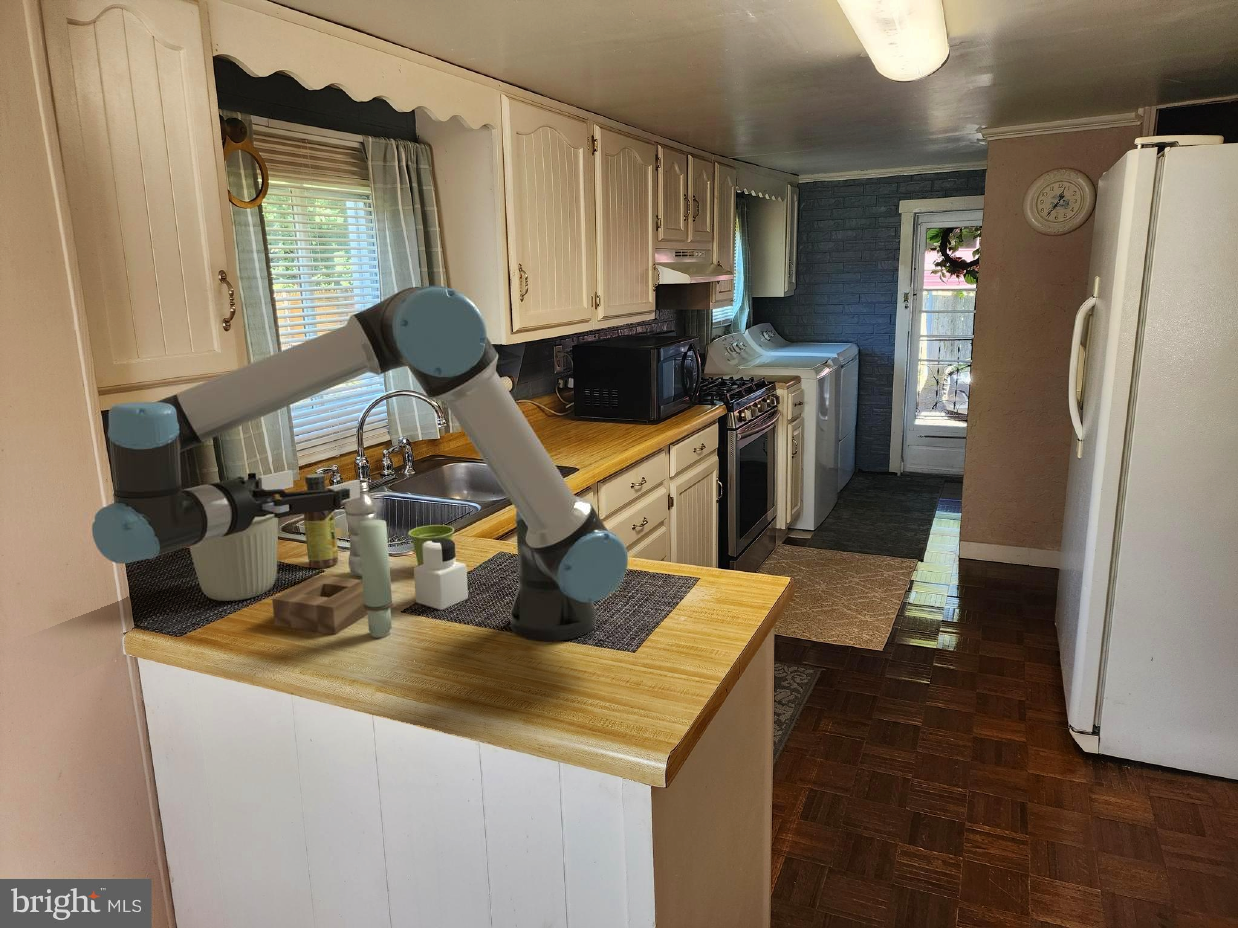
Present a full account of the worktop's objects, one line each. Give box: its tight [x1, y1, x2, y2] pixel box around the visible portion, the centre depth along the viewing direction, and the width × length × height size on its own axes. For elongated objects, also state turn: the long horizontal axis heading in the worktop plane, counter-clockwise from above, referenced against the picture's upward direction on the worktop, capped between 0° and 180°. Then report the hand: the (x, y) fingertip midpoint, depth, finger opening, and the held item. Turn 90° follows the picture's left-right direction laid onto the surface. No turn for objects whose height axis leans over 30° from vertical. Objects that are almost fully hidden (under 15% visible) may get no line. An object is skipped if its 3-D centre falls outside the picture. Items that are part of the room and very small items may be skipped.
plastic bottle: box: [343, 479, 378, 578], centre depth 175 cm, size 6×7×20 cm
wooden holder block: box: [271, 574, 368, 635], centre depth 155 cm, size 13×13×5 cm
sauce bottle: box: [303, 473, 339, 569], centre depth 182 cm, size 6×6×20 cm
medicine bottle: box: [413, 538, 469, 611], centre depth 161 cm, size 7×7×12 cm
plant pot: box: [407, 524, 455, 566], centre depth 178 cm, size 9×9×9 cm
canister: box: [188, 514, 279, 602], centre depth 166 cm, size 18×18×21 cm
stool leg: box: [358, 519, 393, 639], centre depth 145 cm, size 5×5×20 cm
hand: (324, 483), depth 135 cm, fingers open, 13 cm apart
